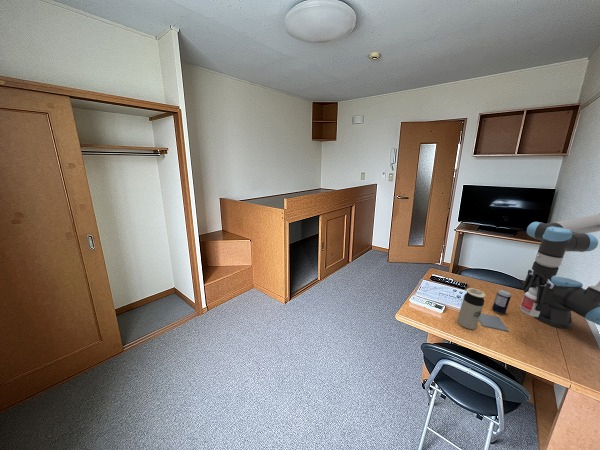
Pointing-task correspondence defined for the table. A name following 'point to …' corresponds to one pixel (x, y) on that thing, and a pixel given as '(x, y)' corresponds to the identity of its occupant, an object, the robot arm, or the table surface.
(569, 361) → the table surface
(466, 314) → the travel mug
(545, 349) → the table surface
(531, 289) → the pill bottle
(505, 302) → the beverage can
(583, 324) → the table surface
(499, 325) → the coaster
